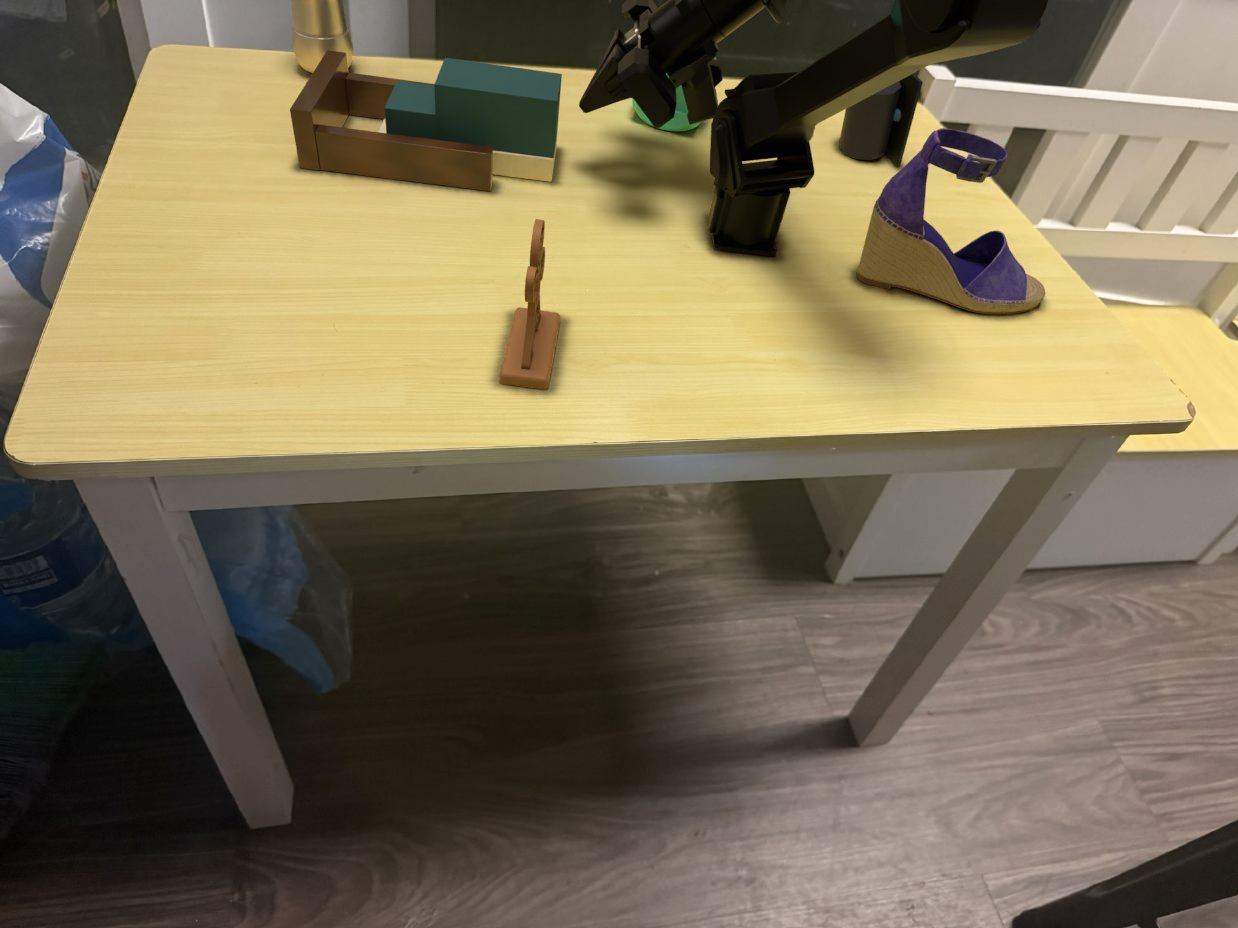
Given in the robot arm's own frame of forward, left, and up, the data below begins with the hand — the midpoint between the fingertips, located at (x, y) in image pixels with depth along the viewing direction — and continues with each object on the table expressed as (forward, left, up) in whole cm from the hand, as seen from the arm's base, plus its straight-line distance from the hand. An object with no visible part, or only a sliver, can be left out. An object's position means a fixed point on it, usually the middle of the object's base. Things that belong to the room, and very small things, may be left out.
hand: (581, 108), depth 84 cm
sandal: (-38, +14, -7) cm, 41 cm away
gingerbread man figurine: (+2, +31, -7) cm, 32 cm away
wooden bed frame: (+17, 0, -7) cm, 19 cm away
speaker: (-35, -12, -7) cm, 37 cm away
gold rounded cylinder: (+30, -15, -7) cm, 35 cm away
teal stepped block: (+11, 0, -7) cm, 13 cm away
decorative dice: (-11, -15, -7) cm, 20 cm away
